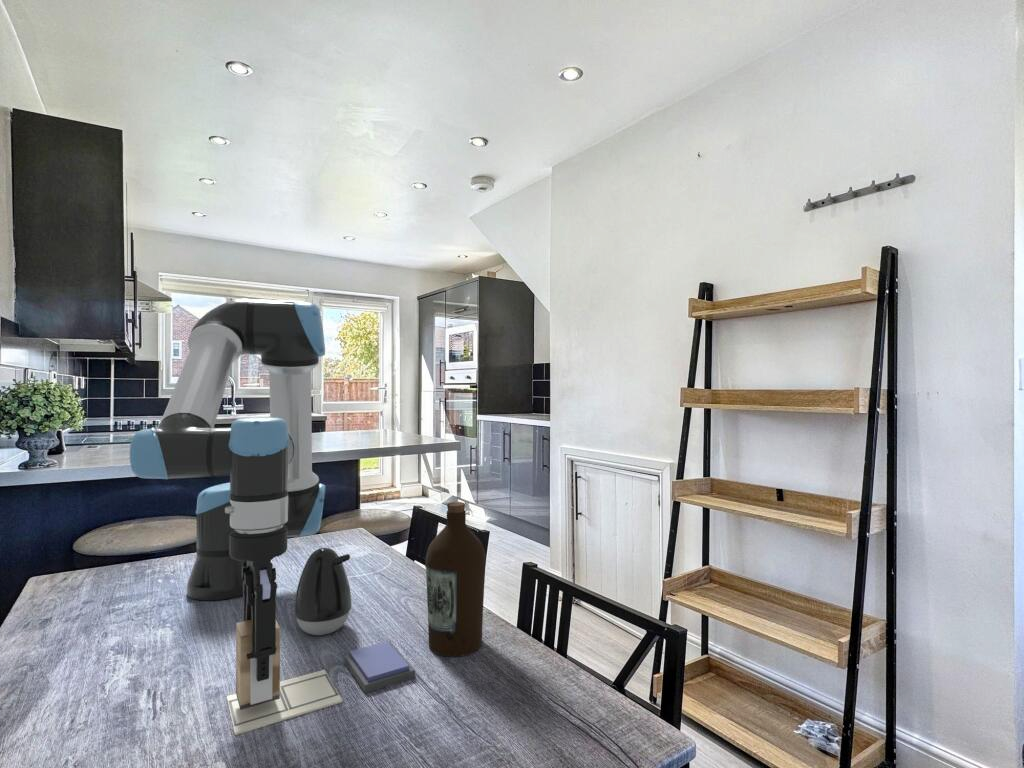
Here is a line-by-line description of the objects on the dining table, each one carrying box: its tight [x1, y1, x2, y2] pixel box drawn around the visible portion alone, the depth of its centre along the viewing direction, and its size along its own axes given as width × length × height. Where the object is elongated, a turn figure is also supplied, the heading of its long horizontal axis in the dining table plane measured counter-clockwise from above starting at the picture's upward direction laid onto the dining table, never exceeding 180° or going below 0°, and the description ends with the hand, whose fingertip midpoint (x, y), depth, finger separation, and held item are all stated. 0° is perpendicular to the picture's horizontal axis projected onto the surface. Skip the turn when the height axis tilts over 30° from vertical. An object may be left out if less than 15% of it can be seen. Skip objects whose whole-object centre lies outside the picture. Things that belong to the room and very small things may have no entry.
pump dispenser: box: [293, 547, 352, 636], centre depth 103 cm, size 10×10×15 cm
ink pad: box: [343, 641, 416, 694], centre depth 89 cm, size 11×8×2 cm
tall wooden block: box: [235, 620, 281, 710], centre depth 78 cm, size 5×5×10 cm
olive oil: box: [424, 501, 487, 658], centre depth 97 cm, size 11×11×25 cm
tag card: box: [226, 669, 343, 736], centre depth 80 cm, size 10×14×1 cm
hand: (258, 690), depth 78 cm, fingers closed on tall wooden block, 5 cm apart
